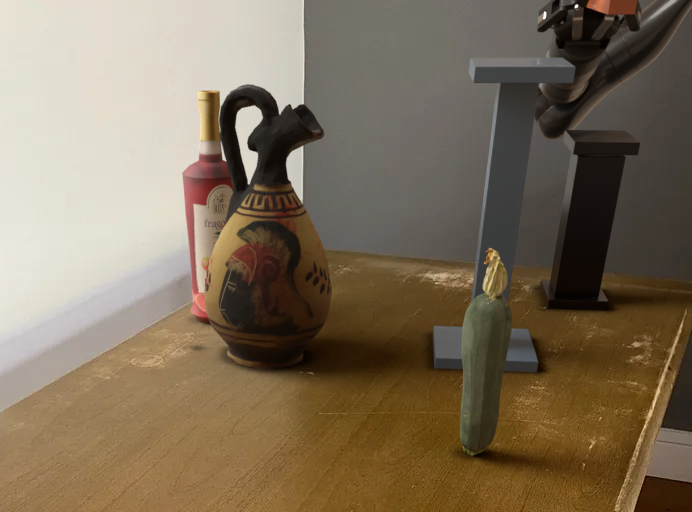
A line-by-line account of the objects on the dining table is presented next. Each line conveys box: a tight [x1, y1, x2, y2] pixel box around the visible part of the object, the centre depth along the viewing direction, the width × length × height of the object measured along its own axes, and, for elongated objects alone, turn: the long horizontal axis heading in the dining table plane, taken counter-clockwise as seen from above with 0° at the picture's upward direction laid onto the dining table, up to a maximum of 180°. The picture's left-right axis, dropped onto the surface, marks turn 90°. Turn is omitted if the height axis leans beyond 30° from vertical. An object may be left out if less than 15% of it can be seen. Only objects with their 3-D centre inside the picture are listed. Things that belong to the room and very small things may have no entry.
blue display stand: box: [432, 57, 576, 373], centre depth 111 cm, size 12×12×32 cm
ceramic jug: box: [204, 83, 333, 370], centre depth 112 cm, size 17×15×30 cm
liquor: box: [181, 89, 233, 324], centre depth 125 cm, size 7×7×28 cm
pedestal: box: [539, 129, 641, 312], centre depth 131 cm, size 10×8×22 cm
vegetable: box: [459, 248, 513, 457], centre depth 90 cm, size 4×4×20 cm
